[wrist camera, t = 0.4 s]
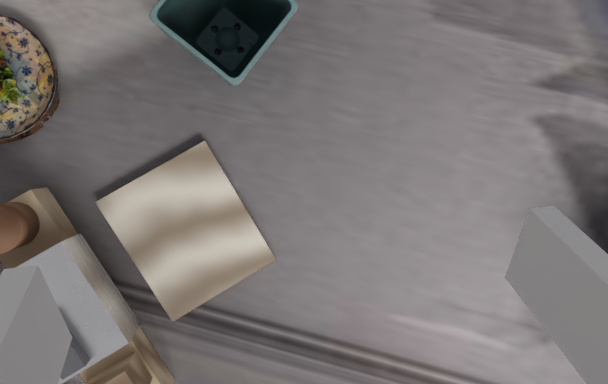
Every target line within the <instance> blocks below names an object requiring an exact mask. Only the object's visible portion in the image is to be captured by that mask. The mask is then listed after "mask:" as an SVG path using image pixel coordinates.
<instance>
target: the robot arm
mask: <svg viewBox="0 0 608 384" xmlns="http://www.w3.org/2000/svg"><path fill="white" fill-rule="evenodd" d="M505 278H506V279H507V281H508V282H509V283H510V284H511V286H512V287H513V288H514V290H515V291H516V292H517V294H518V295H519V296H520V297H521V299H522V300H523V301H524V303H525V304H526V305H527V307H528V308H529V309H530V310H531V312H532V313H533V314H534V316H535V317H536V318H537V320H538V321H539V322H540V323H541V325H542V326H543V327H544V329H545V330H546V331H547V333H548V334H549V335H550V336H551V338H552V339H553V340H554V342H555V343H556V344H557V346H558V347H559V348H560V349H561V351H562V352H563V353H564V355H565V356H566V357H567V359H568V360H569V361H570V362H571V364H572V365H573V366H574V368H575V369H576V370H577V372H578V373H579V374H580V375H581V377H582V378H583V379H584V381H585V382H586V383H587V384H608V254H607V253H606V252H605V251H604V250H603V249H601V248H600V247H599V246H598V245H597V244H596V243H595V242H594V241H593V240H592V239H590V238H589V237H588V236H587V235H586V234H585V233H584V232H583V231H582V230H580V229H579V228H578V227H577V226H576V225H575V224H574V223H573V222H572V221H571V220H569V219H568V218H567V217H566V216H565V215H564V214H563V213H562V212H561V211H559V210H558V209H557V208H556V207H555V206H547V207H538V208H530V210H529V212H528V215H527V218H526V221H525V223H524V226H523V229H522V232H521V234H520V237H519V240H518V243H517V245H516V248H515V251H514V254H513V257H512V259H511V262H510V265H509V268H508V270H507V273H506V276H505ZM71 340H72V336H71V334H70V332H69V329H68V327H67V325H66V323H65V321H64V319H63V317H62V315H61V313H60V310H59V308H58V306H57V304H56V302H55V300H54V298H53V296H52V293H51V291H50V289H49V287H48V285H47V283H46V281H45V279H44V277H43V274H42V272H41V270H40V268H39V266H38V265H35V266H26V267H17V268H9V269H4V270H3V272H2V273H1V275H0V384H58V382H59V379H60V375H61V372H62V369H63V366H64V362H65V359H66V356H67V353H68V350H69V346H70V343H71Z"/></svg>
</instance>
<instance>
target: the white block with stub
mask: <svg viewBox="0 0 608 384" xmlns="http://www.w3.org/2000/svg"><path fill="white" fill-rule="evenodd" d="M35 265H38V266H39V268H40V270H41V272H42V274H43V277H44V279H45V281H46V283H47V285H48V287H49V289H50V291H51V293H52V296H53V298H54V300H55V302H56V304H57V306H58V308H59V310H60V313H61V315H62V317H63V319H64V321H65V323H66V325H67V327H68V329H69V332H70V334H71V336H72V340H71V343H70V346H69V350H68V353H67V356H66V359H65V362H64V366H63V369H62V372H61V375H60V379H59V382H58V384H62V383H64V382H66V381H67V380H69V379H71V378H72V377H74V376H76V375H77V374H79V373H81V372H82V371H84V370H85V369H87V368H89V367H90V366H92V365H94V364H95V363H97V362H99V361H100V360H102V359H104V358H105V357H107V356H109V355H110V354H112V353H114V352H115V351H117V350H119V349H120V348H122V347H123V346H125V345H127V344H128V343H129V342H130V341H131V339H132V337H133V336H134V334H135V332H136V331H137V329H138V328H139V326H140V322H139V321H138V319H137V318H136V316H135V315H134V313H133V312H132V310H131V308H130V307H129V305H128V304H127V302H126V301H125V299H124V298H123V296H122V295H121V293H120V292H119V290H118V289H117V287H116V286H115V284H114V283H113V281H112V280H111V278H110V277H109V275H108V274H107V272H106V271H105V269H104V268H103V266H102V264H101V263H100V261H99V260H98V258H97V257H96V255H95V254H94V252H93V251H92V249H91V248H90V246H89V245H88V243H87V242H86V240H85V239H84V237H83V236H82V234H81V233H80V234H78V235H75V236H73V237H71V238H68V239H66V240H64V241H61V242H60V243H58V244H56V245H54V246H53V247H51V248H49V249H47V250H45V251H44V252H42V253H40V254H38V255H37V256H35V257H33V258H31V259H30V260H28V261H26V262H24V263H23V264H21V265H19V266H17V267H26V266H35ZM17 267H16V268H17Z"/></svg>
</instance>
